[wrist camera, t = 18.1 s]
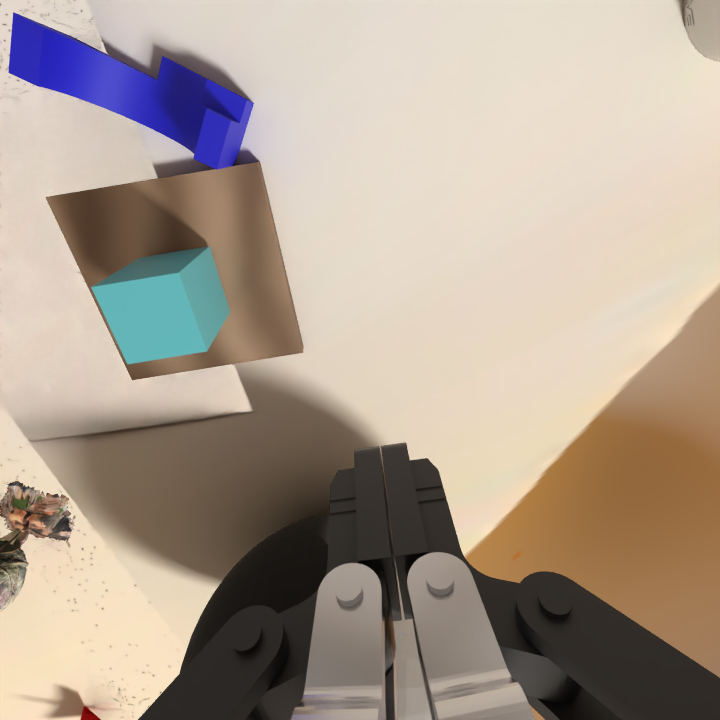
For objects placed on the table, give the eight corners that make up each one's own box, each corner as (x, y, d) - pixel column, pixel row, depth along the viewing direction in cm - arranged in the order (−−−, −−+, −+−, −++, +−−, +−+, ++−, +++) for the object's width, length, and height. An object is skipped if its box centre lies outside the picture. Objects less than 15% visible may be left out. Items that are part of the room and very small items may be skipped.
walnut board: (259, 161, 32) (257, 162, 31) (303, 346, 39) (302, 352, 38) (55, 195, 32) (45, 197, 31) (137, 373, 39) (132, 380, 38)
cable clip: (254, 103, 30) (238, 94, 25) (235, 165, 32) (216, 169, 27) (77, 11, 27) (15, -21, 22) (67, 85, 29) (8, 72, 24)
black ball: (441, 612, 60) (528, 980, 34) (231, 619, 58) (148, 1022, 31) (479, 451, 47) (678, 859, 20) (206, 451, 44) (19, 916, 18)
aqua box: (209, 246, 33) (178, 272, 26) (230, 311, 35) (206, 351, 29) (139, 257, 33) (90, 287, 26) (165, 322, 35) (127, 364, 29)
